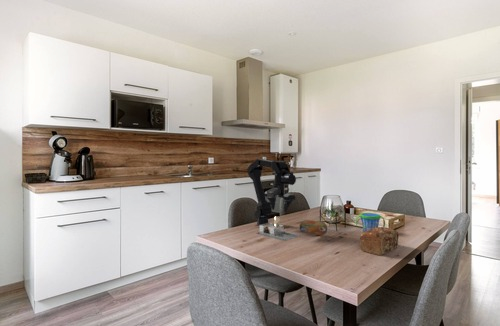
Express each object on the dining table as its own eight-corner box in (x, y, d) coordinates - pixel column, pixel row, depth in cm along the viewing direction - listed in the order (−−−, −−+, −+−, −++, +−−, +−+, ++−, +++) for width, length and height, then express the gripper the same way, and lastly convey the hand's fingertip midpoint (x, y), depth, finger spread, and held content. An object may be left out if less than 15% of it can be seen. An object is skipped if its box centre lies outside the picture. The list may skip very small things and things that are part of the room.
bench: (255, 235, 156) (255, 225, 156) (272, 231, 165) (272, 221, 165) (284, 243, 141) (284, 232, 141) (301, 238, 151) (301, 228, 151)
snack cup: (355, 233, 162) (355, 215, 161) (355, 228, 172) (355, 211, 171) (386, 235, 156) (386, 217, 156) (384, 231, 166) (384, 213, 166)
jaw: (269, 234, 152) (269, 217, 152) (279, 231, 158) (279, 215, 158) (273, 235, 150) (274, 218, 150) (283, 232, 156) (283, 216, 156)
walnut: (267, 232, 157) (267, 227, 157) (271, 231, 159) (271, 226, 159) (271, 233, 154) (271, 228, 154) (276, 232, 157) (276, 227, 157)
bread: (381, 257, 124) (381, 234, 123) (358, 250, 132) (358, 229, 132) (399, 248, 136) (399, 227, 136) (377, 243, 144) (377, 223, 144)
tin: (299, 234, 159) (299, 219, 159) (301, 232, 162) (301, 218, 162) (326, 237, 152) (326, 222, 152) (327, 236, 155) (327, 221, 155)
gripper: (257, 182, 162) (257, 210, 162) (282, 185, 148) (282, 215, 149) (271, 181, 169) (270, 207, 170) (296, 184, 155) (295, 212, 156)
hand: (279, 210), depth 161 cm, fingers open, 9 cm apart
